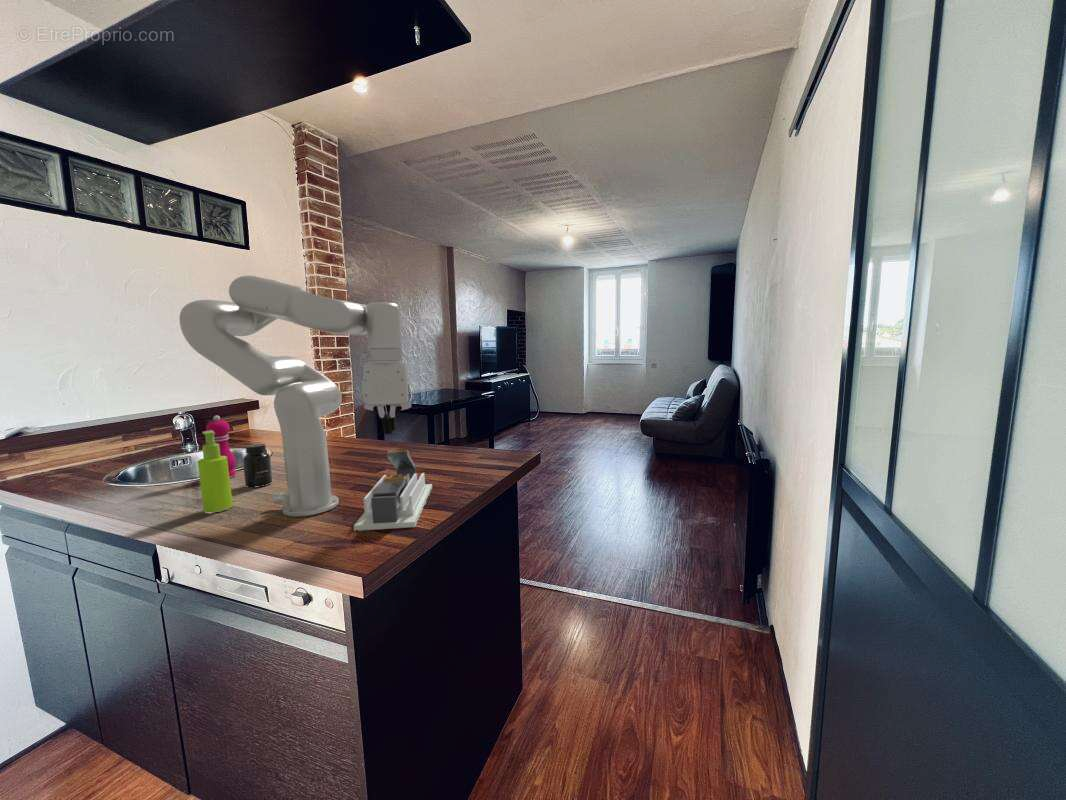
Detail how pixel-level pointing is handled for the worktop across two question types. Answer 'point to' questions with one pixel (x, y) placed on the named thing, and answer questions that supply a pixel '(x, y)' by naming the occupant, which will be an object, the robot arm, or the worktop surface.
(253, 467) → the supplement bottle
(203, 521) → the worktop surface
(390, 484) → the grey flat block
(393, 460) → the grey green rectangular plate
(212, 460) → the soap dispenser
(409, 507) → the heatsink board
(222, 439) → the pepper mill
